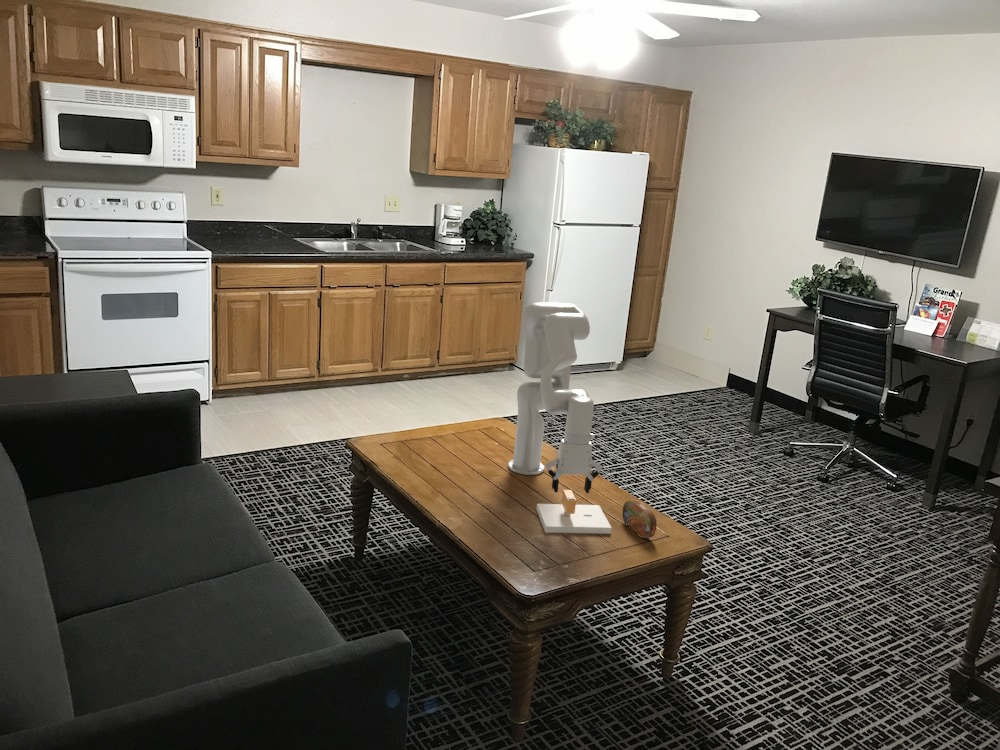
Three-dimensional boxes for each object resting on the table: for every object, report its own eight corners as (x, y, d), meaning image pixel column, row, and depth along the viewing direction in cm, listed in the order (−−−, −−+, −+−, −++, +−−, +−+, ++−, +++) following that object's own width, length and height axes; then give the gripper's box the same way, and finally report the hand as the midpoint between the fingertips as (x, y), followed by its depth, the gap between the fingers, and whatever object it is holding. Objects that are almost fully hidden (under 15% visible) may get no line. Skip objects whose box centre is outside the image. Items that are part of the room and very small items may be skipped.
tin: (620, 520, 249) (623, 495, 247) (628, 519, 250) (632, 494, 248) (646, 543, 236) (651, 518, 233) (655, 542, 237) (660, 516, 235)
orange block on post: (561, 503, 247) (563, 489, 246) (569, 503, 247) (571, 489, 246) (566, 513, 240) (568, 499, 239) (574, 513, 241) (576, 499, 239)
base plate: (536, 509, 251) (537, 497, 250) (598, 510, 254) (599, 499, 253) (545, 532, 237) (546, 520, 236) (610, 533, 240) (612, 521, 239)
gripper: (602, 434, 242) (595, 486, 246) (546, 432, 239) (540, 485, 244) (608, 442, 235) (601, 496, 239) (550, 441, 232) (545, 495, 237)
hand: (570, 491), depth 242 cm, fingers open, 9 cm apart
